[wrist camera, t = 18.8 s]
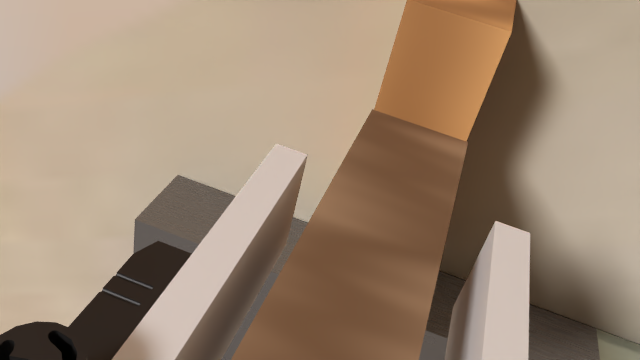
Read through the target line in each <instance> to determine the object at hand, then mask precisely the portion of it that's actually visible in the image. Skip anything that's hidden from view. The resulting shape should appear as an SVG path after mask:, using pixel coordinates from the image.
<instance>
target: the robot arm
mask: <svg viewBox="0 0 640 360" xmlns="http://www.w3.org/2000/svg"><path fill="white" fill-rule="evenodd" d="M306 159H307V154H304V153H302V152H299V151H296V150H293V149H290V148H287V147H284V146H282V145H279V144H275V146H274V147H273V148H272V149H271V151H270V152H269V153H268V155H267V156H266V157H265V159H264V160H263V161H262V163H261V164H260V165H259V167H258V168H257V169H256V171H255V172H254V173H253V174H252V176H251V177H250V178H249V180H248V181H247V182H246V184H245V185H244V186H243V188H242V189H241V190H240V192H239V193H238V194H237V195H236V197H235V198H234V199H233V201H232V202H231V203H230V205H229V206H228V207H227V209H226V210H225V211H224V213H223V214H222V215H221V217H220V218H219V219H218V220H217V222H216V223H215V224H214V226H213V227H212V228H211V230H210V231H209V232H208V234H207V235H206V236H205V238H204V239H203V240H202V241H201V243H200V244H199V245H198V247H197V248H196V249H195V251H194V252H193V253H189V252H186V251H184V250H181V249H179V248H176V247H173V246H171V245H168V244H166V243H163V242H160V241H157V242H155V243H153V244H151V245H149V246H147V247H145V248H143V249H141V250H139V251H137V252H136V253H134V254H133V255H132V256H131V257H130V258H129V259H128V261H127V262H126V263H125V264H124V265H123V266H122V267H121V268H120V270H119V271H118V272H117V274H116V276H113V277H112V279H111V280H110V281H109V282H108V283H107V284H106V285H105V286H104V287H103V290H102V292H99V293H98V294H97V295H96V296H95V298H94V299H93V300H92V301H91V302H90V303H89V304H88V305H87V307H86V308H85V309H84V310H83V311H82V312H81V313H80V314H79V316H78V317H77V318H76V319H75V320H74V321H73V322H72V323H71V325H70V326H69V327H66V326H63V325H61V324H58V323H54V322H33V323H29V324H24V325H20V326H16V327H14V328H12V329H10V330H9V331H7V332H5V333H3V334H1V335H0V360H221V359H222V357H223V356H224V354H225V352H226V350H227V349H228V347H229V345H230V343H231V342H232V340H233V338H234V336H235V334H236V333H237V331H238V329H239V327H240V326H241V324H242V322H243V320H244V318H245V317H246V315H247V313H248V311H249V310H250V308H251V306H252V304H253V303H254V301H255V299H256V297H257V295H258V294H259V292H260V290H261V288H262V287H263V285H264V283H265V281H266V280H267V278H268V276H269V274H270V272H271V271H272V269H273V267H274V265H275V264H276V262H277V260H278V258H279V256H280V255H281V253H282V251H283V249H284V248H285V246H286V243H287V239H288V235H289V231H290V227H291V222H292V218H293V214H294V210H295V205H296V201H297V197H298V193H299V189H300V184H301V180H302V176H303V172H304V168H305V163H306ZM529 283H530V233H529V232H526V231H523V230H520V229H518V228H515V227H512V226H509V225H506V224H503V223H500V222H498V221H495V223H494V225H493V227H492V229H491V231H490V233H489V235H488V237H487V239H486V241H485V243H484V245H483V247H482V249H481V251H480V253H479V255H478V257H477V259H476V261H475V263H474V265H473V267H472V270H471V272H470V274H469V276H468V278H467V280H466V282H465V284H464V286H463V288H462V290H461V292H460V294H459V296H458V298H457V300H456V302H455V304H454V306H453V310H452V316H451V322H450V329H449V335H448V341H447V347H446V353H445V359H444V360H528V349H529Z"/></svg>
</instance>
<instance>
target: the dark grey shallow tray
mask: <svg viewBox="0 0 640 360" xmlns="http://www.w3.org/2000/svg"><path fill="white" fill-rule="evenodd" d="M235 197H236V196H233V195H230V194H228V193H225V192H222V191H219V190H217V189H214V188H211V187H208V186H206V185H203V184H200V183H198V182H195V181H192V180H189V179H187V178H184V177H181V176H179V175H177V176H176V177H175V178H174V179H173V181H172V182H171V183H170V184H169V185H168V186H167V187H166V188H165V189H164V190H163V191H162V192H161V193H160V194H159V195H158V196H157V197H156V198H155V199H154V200H153V201H152V202H151V203H150V205H149V206H148V207H147V208H146V209H145V210H144V211H143V212H142V213H141V214H140V215H139V216H138V217H137V218H136V219H135V232H134V253H136V252H137V251H139V250H141V249H143V248H145V247H147V246H149V245H151V244H153V243H155V242H157V241H160V242H163V243H166V244H168V245H171V246H173V247H176V248H179V249H181V250H184V251H186V252H189V253H193V252H194V251H195V249H196V248H197V247H198V245H199V244H200V243H201V241H202V240H203V239H204V238H205V236H206V235H207V234H208V232H209V231H210V230H211V228H212V227H213V226H214V224H215V223H216V222H217V220H218V219H219V218H220V217H221V215H222V214H223V213H224V211H225V210H226V209H227V207H228V206H229V205H230V203H231V202H232V201H233V199H234V198H235ZM307 224H308V223H307V222H304V221H301V220H298V219H296V218H292V222H291V227H290V231H289V235H288V239H287V243H286V246H285V248H284V249H283V251H282V253H281V255H280V256H279V258H278V260H277V262H276V264H275V265H274V267H273V269H272V271H271V272H270V274H269V276H268V278H267V280H266V281H265V283H264V285H263V287H262V288H261V290H260V292H259V294H258V295H257V297H256V299H255V301H254V303H253V304H252V306H251V308H250V310H249V311H248V313H247V315H246V317H245V318H244V320H243V322H242V324H241V326H240V327H239V329H238V331H237V333H236V334H235V336H234V338H233V340H232V342H231V343H230V345H229V347H228V349H227V350H226V352H225V354H224V356H223V357H222V359H221V360H231V359H232V357H233V355H234V353H235V351H236V350H237V348H238V346H239V344H240V343H241V341H242V339H243V337H244V336H245V334H246V332H247V330H248V328H249V327H250V325H251V323H252V321H253V320H254V318H255V316H256V314H257V313H258V311H259V309H260V307H261V305H262V304H263V302H264V300H265V298H266V297H267V295H268V293H269V291H270V290H271V288H272V286H273V284H274V282H275V281H276V279H277V277H278V275H279V274H280V272H281V270H282V268H283V267H284V265H285V263H286V261H287V259H288V258H289V256H290V254H291V252H292V251H293V249H294V247H295V245H296V244H297V242H298V240H299V238H300V236H301V235H302V233H303V231H304V229H305V228H306V226H307ZM465 282H466V281H465V280H462V279H459V278H456V277H454V276H451V275H448V274H445V273H443V272H440V271H439V273H438V277H437V281H436V286H435V290H434V295H433V299H432V303H431V308H430V312H429V317H428V321H427V325H426V330H425V334H424V338H423V343H422V347H421V352H420V356H419V360H444V359H445V353H446V347H447V341H448V335H449V329H450V322H451V316H452V310H453V306H454V304H455V302H456V300H457V298H458V296H459V294H460V292H461V290H462V288H463V286H464V284H465ZM528 360H600V356H599V347H598V338H597V330H596V329H595V328H593V327H590V326H587V325H584V324H582V323H579V322H576V321H574V320H571V319H568V318H565V317H563V316H560V315H557V314H554V313H552V312H549V311H546V310H544V309H541V308H538V307H535V306H533V305H530V304H529V349H528Z"/></svg>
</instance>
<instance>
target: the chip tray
mask: <svg viewBox="0 0 640 360" xmlns="http://www.w3.org/2000/svg"><path fill="white" fill-rule="evenodd" d="M596 330H597V338H598V347H599V356H600V360H640V345H639V344H636V343H633V342H631V341H628V340H625V339H623V338H620V337H617V336H614V335H612V334H609V333H606V332H604V331H601V330H598V329H596Z"/></svg>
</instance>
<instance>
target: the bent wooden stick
mask: <svg viewBox="0 0 640 360" xmlns="http://www.w3.org/2000/svg"><path fill="white" fill-rule="evenodd" d="M515 6H516V0H407V2H406V5H405V9H404V12H403V15H402V19H401V22H400V25H399V29H398V32H397V35H396V39H395V42H394V45H393V49H392V52H391V55H390V59H389V62H388V65H387V69H386V72H385V75H384V79H383V82H382V85H381V89H380V92H379V95H378V99H377V102H376V106H375V109H374V110H373V109H372V111H371V113H370V114H369V116H368V118H367V120H366V121H365V123H364V125H363V127H362V129H361V130H360V132H359V134H358V136H357V137H356V139H355V141H354V143H353V144H352V146H351V148H350V150H349V152H348V153H347V155H346V157H345V159H344V160H343V162H342V164H341V166H340V167H339V169H338V171H337V173H336V175H335V176H334V178H333V180H332V182H331V183H330V185H329V187H328V189H327V190H326V192H325V194H324V196H323V198H322V199H321V201H320V203H319V205H318V206H317V208H316V210H315V212H314V213H313V215H312V217H311V219H310V221H309V222H308V224H307V226H306V228H305V229H304V231H303V233H302V235H301V236H300V238H299V240H298V242H297V244H296V245H295V247H294V249H293V251H292V252H291V254H290V256H289V258H288V259H287V261H286V263H285V265H284V267H283V268H282V270H281V272H280V274H279V275H278V277H277V279H276V281H275V282H274V284H273V286H272V288H271V290H270V291H269V293H268V295H267V297H266V298H265V300H264V302H263V304H262V305H261V307H260V309H259V311H258V313H257V314H256V316H255V318H254V320H253V321H252V323H251V325H250V327H249V328H248V330H247V332H246V334H245V336H244V337H243V339H242V341H241V343H240V344H239V346H238V348H237V350H236V351H235V353H234V355H233V357H232V359H231V360H419V356H420V352H421V347H422V343H423V338H424V334H425V330H426V325H427V321H428V317H429V312H430V308H431V303H432V299H433V295H434V290H435V286H436V281H437V277H438V273H439V268H440V264H441V259H442V255H443V251H444V246H445V242H446V237H447V233H448V229H449V224H450V220H451V216H452V211H453V207H454V202H455V198H456V194H457V189H458V185H459V180H460V176H461V172H462V167H463V163H464V158H465V154H466V150H467V145H468V142H466V141H467V139H468V136H469V134H470V131H471V129H472V127H473V124H474V122H475V119H476V117H477V115H478V112H479V110H480V107H481V105H482V103H483V100H484V98H485V95H486V93H487V90H488V88H489V86H490V83H491V81H492V78H493V76H494V74H495V71H496V69H497V66H498V64H499V62H500V59H501V57H502V54H503V52H504V49H505V47H506V45H507V42H508V40H509V37H510V35H511V33H512V27H513V20H514V13H515Z"/></svg>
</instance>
